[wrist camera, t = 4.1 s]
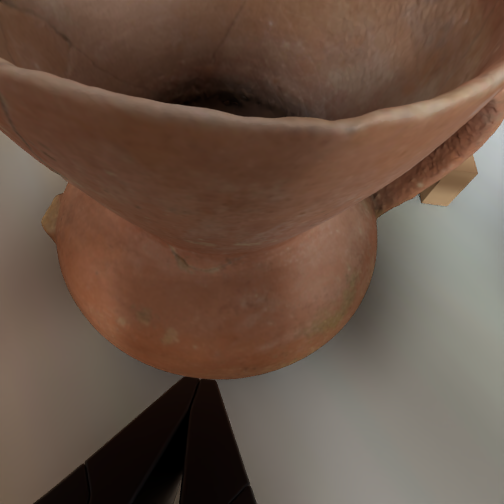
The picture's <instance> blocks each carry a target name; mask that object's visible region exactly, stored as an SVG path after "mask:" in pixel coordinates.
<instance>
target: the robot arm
mask: <svg viewBox="0 0 504 504" xmlns="http://www.w3.org/2000/svg"><path fill="white" fill-rule="evenodd" d="M181 479H182V482H181ZM180 482H181V491H180V500H179V504H257V503H256V500H255V497H254V494H253V491H252V488H251V486H250V482H249V479H248V476H247V473H246V470H245V467H244V464H243V461H242V458H241V455H240V452H239V449H238V446H237V443H236V440H235V437H234V434H233V430H232V427H231V424H230V421H229V418H228V415H227V412H226V409H225V406H224V403H223V400H222V397H221V394H220V391H219V388H218V385H217V382H216V381H215V380H210V379H201V380H199V378H194V377H187V376H186V377H183V378H182V379H181V380H179V381H178V382H177V383H176V384H175V385H174V386H172V387H171V388H170V389H169V390H168V391H167V392H165V393H164V394H163V395H162V396H161V397H160V398H158V399H157V400H156V401H155V402H154V403H153V404H151V405H150V406H149V407H148V408H147V409H146V410H144V411H143V412H142V413H141V414H140V415H139V416H137V417H136V418H135V419H134V420H133V421H132V422H130V423H129V424H128V425H127V426H126V427H125V428H123V429H122V430H121V431H120V432H119V433H118V434H116V435H115V436H114V437H113V438H112V439H111V440H109V441H108V442H107V443H106V444H105V445H104V446H102V447H101V448H100V449H99V450H98V451H97V452H95V453H94V454H93V455H92V456H91V457H90V458H88V459H87V460H86V461H85V465H84V464H81V465H80V466H79V467H78V468H77V469H75V470H74V471H73V472H72V473H71V474H69V475H68V476H67V477H66V478H65V479H63V480H62V481H61V482H60V483H59V484H57V485H56V486H55V487H54V488H52V489H51V490H50V491H49V492H48V493H46V494H45V495H44V496H43V497H41V498H40V499H39V500H37V501H36V502H35V503H33V504H173V503H174V500H175V497H176V494H177V491H178V488H179V485H180Z"/></svg>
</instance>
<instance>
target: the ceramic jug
mask: <svg viewBox="0 0 504 504" xmlns="http://www.w3.org/2000/svg"><path fill="white" fill-rule="evenodd" d="M503 119H504V0H0V130H1V131H2V132H3V133H4V134H5V135H7V136H8V137H9V138H10V139H11V140H13V141H14V142H15V143H16V144H17V145H19V146H20V147H21V148H22V149H24V150H25V151H26V152H27V153H29V154H30V155H31V156H33V157H34V158H35V159H36V160H38V161H39V162H40V163H42V164H43V165H45V166H46V167H48V168H49V169H50V170H52V171H53V172H55V173H57V174H59V175H60V176H61V177H62V178H63V179H65V180H66V181H67V182H68V184H67V186H66V189H65V191H64V193H62V194H59V195H57V196H56V197H55V198H54V200H53V202H52V204H51V206H50V207H49V208H48V209H47V211H46V213H45V215H44V217H43V218H42V221H41V223H42V226H43V228H44V230H45V231H46V232H47V234H48V235H49V236H50V237H51V238H52V239H53V241H54V242H55V243H56V245H57V252H58V258H59V263H60V268H61V272H62V274H63V278H64V280H65V282H66V285H67V287H68V290H69V292H70V294H71V296H72V298H73V299H74V301H75V303H76V304H77V306H78V307H79V309H80V310H81V312H82V313H83V315H84V316H85V317H86V318H87V319H88V321H89V322H90V323H91V324H92V325H93V327H94V328H95V329H96V330H97V331H98V332H99V333H100V334H101V335H102V336H104V337H105V338H106V339H107V340H108V341H109V342H110V343H112V344H113V345H114V346H116V347H117V348H119V349H120V350H121V351H123V352H125V353H126V354H128V355H129V356H131V357H133V358H135V359H137V360H139V361H141V362H143V363H145V364H147V365H150V366H152V367H154V368H157V369H160V370H164V371H166V372H170V373H173V374H178V375H183V376H188V377H194V378H203V379H238V378H245V377H251V376H256V375H261V374H264V373H268V372H271V371H275V370H278V369H280V368H283V367H286V366H288V365H291V364H293V363H295V362H297V361H299V360H301V359H303V358H305V357H307V356H308V355H310V354H311V353H313V352H315V351H316V350H318V349H319V348H320V347H322V346H323V345H324V344H326V343H327V342H328V341H329V340H331V339H332V338H333V337H334V336H335V335H336V334H337V333H338V332H339V331H340V330H341V329H342V328H343V327H344V326H345V324H346V323H347V322H348V321H349V320H350V318H351V317H352V316H353V314H354V313H355V311H356V310H357V308H358V307H359V305H360V303H361V301H362V299H363V297H364V295H365V293H366V291H367V289H368V286H369V284H370V281H371V278H372V275H373V270H374V266H375V261H376V252H377V225H376V220H377V218H378V217H380V216H381V215H382V214H384V213H385V212H387V211H388V210H390V209H392V208H393V207H396V206H398V205H400V204H402V203H403V202H405V201H407V200H410V199H412V198H414V197H415V196H416V195H417V194H419V193H421V192H422V191H424V190H425V189H427V188H429V187H430V186H431V185H433V184H434V183H436V182H437V181H439V180H441V179H442V178H443V177H444V176H446V175H447V174H448V173H450V172H451V171H452V170H454V169H456V168H457V167H458V166H460V165H461V164H462V163H463V162H464V161H465V160H467V159H468V158H469V157H470V156H471V155H472V154H474V153H475V152H476V151H477V150H478V149H479V148H480V147H481V146H482V145H483V144H484V143H485V142H486V141H487V140H488V139H489V137H490V136H491V135H493V134H494V132H495V131H496V130H497V128H498V127H499V126H500V124H501V123H502V121H503Z"/></svg>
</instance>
